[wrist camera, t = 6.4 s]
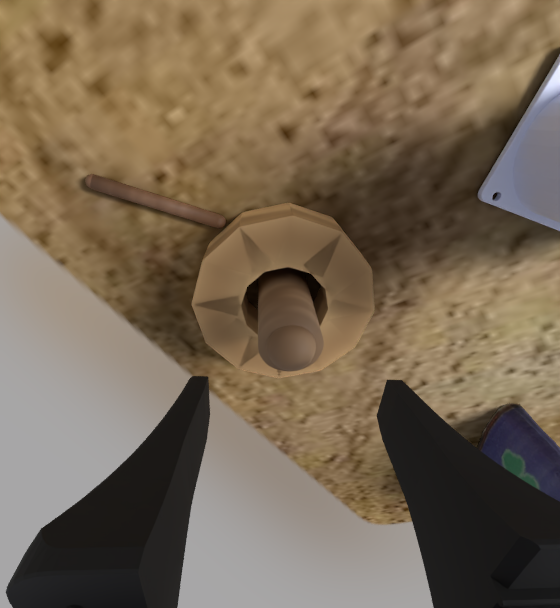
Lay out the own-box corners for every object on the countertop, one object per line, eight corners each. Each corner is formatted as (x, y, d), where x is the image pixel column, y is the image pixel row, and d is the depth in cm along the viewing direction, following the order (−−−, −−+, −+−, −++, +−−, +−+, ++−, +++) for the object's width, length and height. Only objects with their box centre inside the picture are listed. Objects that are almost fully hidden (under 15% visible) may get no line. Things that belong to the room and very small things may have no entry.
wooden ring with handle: (388, 236, 21) (405, 253, 19) (324, 362, 26) (331, 390, 24) (91, 135, 18) (63, 139, 15) (79, 302, 23) (56, 327, 20)
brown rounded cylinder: (306, 259, 22) (329, 329, 15) (306, 302, 24) (327, 385, 16) (256, 262, 22) (255, 334, 15) (259, 305, 23) (260, 390, 16)
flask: (493, 469, 34) (581, 605, 25) (464, 470, 34) (542, 607, 24) (528, 401, 29) (653, 534, 20) (495, 401, 29) (606, 536, 20)
